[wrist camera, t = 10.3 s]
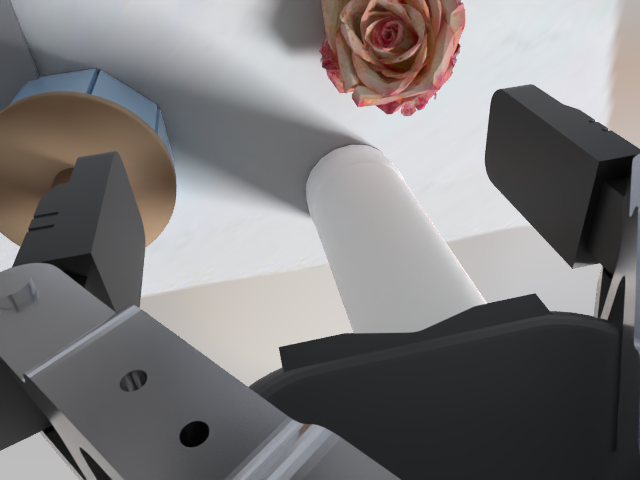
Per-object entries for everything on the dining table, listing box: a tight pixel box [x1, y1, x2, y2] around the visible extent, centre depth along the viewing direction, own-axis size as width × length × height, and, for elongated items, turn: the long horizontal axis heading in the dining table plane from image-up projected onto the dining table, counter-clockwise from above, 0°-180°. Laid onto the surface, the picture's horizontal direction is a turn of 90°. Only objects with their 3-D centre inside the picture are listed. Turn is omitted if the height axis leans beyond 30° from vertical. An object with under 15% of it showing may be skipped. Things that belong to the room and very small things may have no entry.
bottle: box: [306, 145, 487, 333], centre depth 34 cm, size 8×8×30 cm
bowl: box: [10, 68, 174, 165], centre depth 37 cm, size 11×11×5 cm
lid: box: [0, 91, 176, 247], centre depth 33 cm, size 12×12×6 cm
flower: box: [319, 0, 465, 116], centre depth 36 cm, size 10×9×8 cm
